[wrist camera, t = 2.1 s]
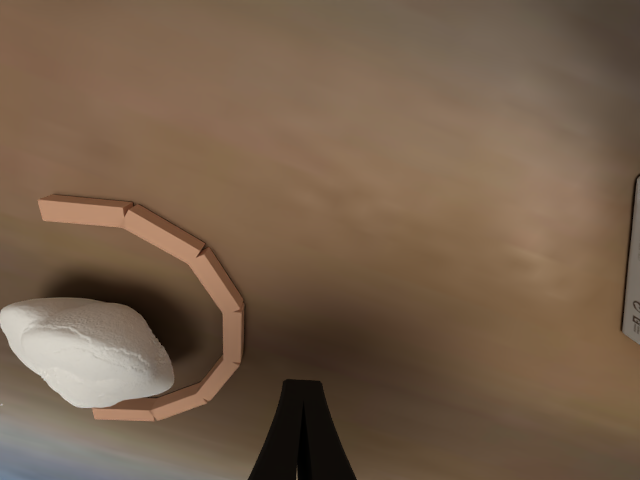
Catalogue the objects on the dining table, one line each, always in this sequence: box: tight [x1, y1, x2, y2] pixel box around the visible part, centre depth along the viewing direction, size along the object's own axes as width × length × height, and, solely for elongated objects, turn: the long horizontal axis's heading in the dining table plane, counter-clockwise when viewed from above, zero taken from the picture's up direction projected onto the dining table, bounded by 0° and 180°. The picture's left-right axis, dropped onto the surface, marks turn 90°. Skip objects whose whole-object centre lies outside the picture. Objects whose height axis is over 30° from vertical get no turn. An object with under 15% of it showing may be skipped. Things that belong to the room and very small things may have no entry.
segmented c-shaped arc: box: [38, 195, 244, 421], centre depth 14 cm, size 12×7×1 cm, turn 173°
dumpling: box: [0, 297, 174, 408], centre depth 12 cm, size 7×5×4 cm
